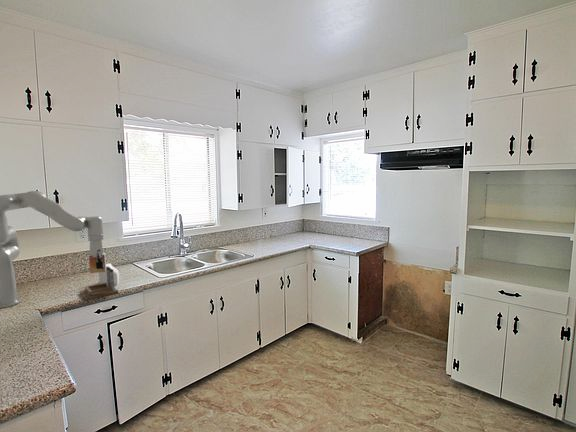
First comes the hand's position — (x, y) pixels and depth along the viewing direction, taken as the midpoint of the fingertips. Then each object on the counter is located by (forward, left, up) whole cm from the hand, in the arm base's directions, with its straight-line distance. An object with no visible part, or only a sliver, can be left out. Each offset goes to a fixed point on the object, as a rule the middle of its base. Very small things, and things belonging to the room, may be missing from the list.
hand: (98, 266), depth 190 cm
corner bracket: (-17, +9, -16) cm, 25 cm away
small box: (0, 0, -3) cm, 3 cm away
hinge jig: (0, -1, -16) cm, 16 cm away
